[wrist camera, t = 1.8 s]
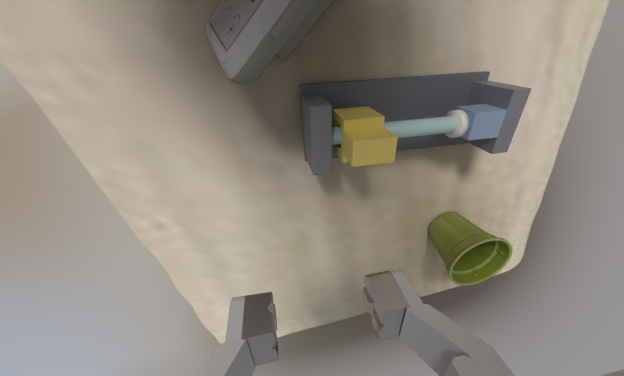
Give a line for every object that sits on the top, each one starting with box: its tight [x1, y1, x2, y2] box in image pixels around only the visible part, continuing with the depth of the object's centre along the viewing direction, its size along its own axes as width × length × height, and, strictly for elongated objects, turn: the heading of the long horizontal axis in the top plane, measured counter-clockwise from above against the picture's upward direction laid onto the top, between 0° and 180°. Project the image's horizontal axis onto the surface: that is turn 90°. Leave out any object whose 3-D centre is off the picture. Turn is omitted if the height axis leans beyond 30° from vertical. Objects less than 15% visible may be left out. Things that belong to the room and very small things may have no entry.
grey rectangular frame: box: [300, 71, 531, 175], centre depth 29 cm, size 23×9×6 cm, turn 93°
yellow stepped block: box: [333, 106, 398, 167], centre depth 25 cm, size 4×4×7 cm
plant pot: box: [428, 212, 512, 285], centre depth 39 cm, size 9×9×9 cm
